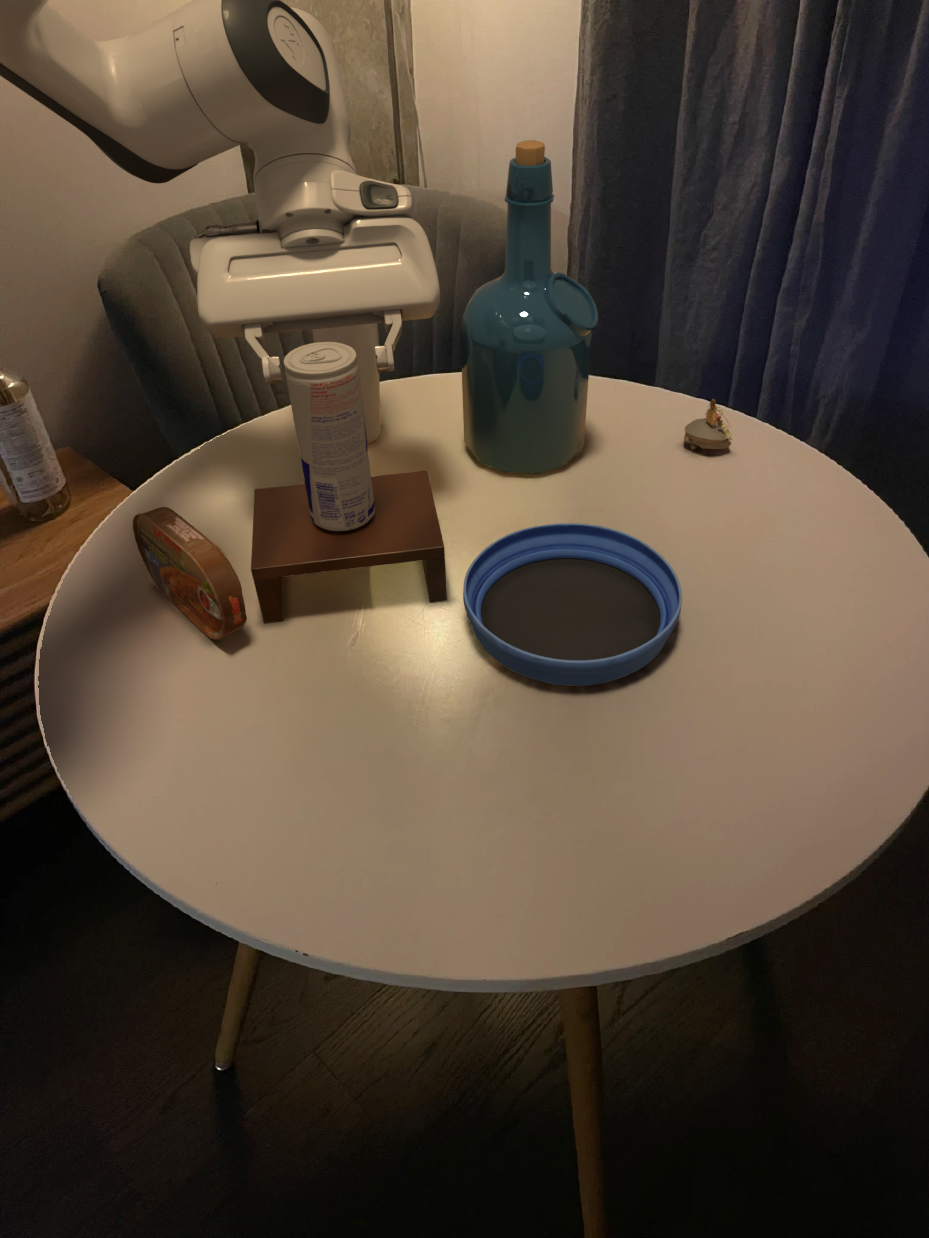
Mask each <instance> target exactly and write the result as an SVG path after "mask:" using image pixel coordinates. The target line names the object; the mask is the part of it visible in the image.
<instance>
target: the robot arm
mask: <svg viewBox="0 0 929 1238" xmlns="http://www.w3.org/2000/svg"><path fill="white" fill-rule="evenodd" d="M48 2H49V0H0V77H2V78H3V79H5V80H6V81H7V82H9V83H10V84H11V85H13V86H15V87H16V88H18V89H19V90H20V91H22V92H24V94H26V95H28V96H29V97H31V98H32V99H34V100H35V101H37V102H38V103H39V104H41V105H42V106H44V107H45V108H47V109H48V110H49V111H51V112H53V113H54V114H56V115H57V116H59V117H60V118H61V119H63V120H64V121H65V122H68V123H69V124H70V125H72V126H73V127H75V129H77V130H79V131H80V132H82V134H84V135H85V136H86V137H88V138H89V139H90V140H91V142H93V144H95V146H96V147H97V148H98V149H99V150H100V151H101V152H102V153H103V154H104V156H106V157H107V158H108V159H109V160H110V161H111V162H113V163H114V164H115V165H116V166H118V167H119V168H120V169H122V170H123V171H125V172H126V173H128V174H130V175H132V176H133V177H135V178H138V179H140V180H142V181H145V182H147V183H150V184H166V183H169V182H170V181H172V180H174V179H176V178H178V177H179V176H181V175H182V174H184V173H186V172H188V171H190V169H193V168H194V167H196V166H198V165H199V164H200V163H202V162H204V161H207V160H209V159H211V158H214V157H216V156H218V155H220V154H223V153H225V152H227V151H229V150H231V149H234V148H236V147H238V146H241V145H243V144H245V146H247V147H248V148H250V150H252V152H253V154H254V159H255V160H254V161H255V163H254V170H253V177H252V180H253V181H252V182H253V190H254V197H255V199H254V200H255V205H256V206H255V207H256V215H257V216H256V217H257V219H256V220H250V221H240V222H234V223H230V224H210V225H206V226H204V230H203V231H199V232H198V233H196V234H195V235H194V236H193V238H192V239H191V240H190V242H189V249H188V250H189V260H190V267H191V269H192V272H194V274H195V275H196V277H197V281H196V296H197V298H196V299H197V300H196V301H197V309H198V310H197V311H198V312H197V313H198V318H199V320H200V322H201V324H202V327H203V328H204V329H205V330H206V331H207V332H208V333H209V334H210V335H211V336H212V337H213V338H215V339H218V340H219V339H221V340H222V339H231V338H241V337H245V341H246V343H247V345H248V347H249V349H250V350H251V351H252V353H253V354H254V355H255V356H256V359H258V361H259V362H260V363H261V366H262V373H263V378H264V382H265V384H266V385H272V384H283V383H284V382H285V380H284V374H283V364H282V361H281V358H280V356H269V354H268V353H267V352H266V350H265V349H264V346H266V344H267V343H266V335H271V334H281V333H292V332H303V331H312V330H314V329H324V328H334V327H344V326H354V325H365V324H375V323H378V324H383V323H384V329H385V333H386V334H388V335H387V337H386V340H385V342H384V345H379V346H378V347H375V357H376V363H377V372H380V373H388V372H389V373H391V372H395V360H394V351H395V349H396V347H397V344H398V343H399V340H400V337H401V335H402V333H403V322H404V321H405V322H406V321H413V320H426V319H430V318H432V317H433V316H434V315H435V314H436V312H437V311H438V309H439V307H440V303H441V290H440V281H439V276H438V270H437V266H436V261H435V259H434V254H433V251H432V248H431V247H432V246H431V245H430V241H429V238H428V236H427V234H426V231H425V230H424V228H423V227H422V225H421V224H420V223H419V222H418V221H416V220H415V208H414V207H415V206H414V201H413V197H412V193H411V191H410V189H409V188H407V187H405V186H404V185H400V184H396V183H392V182H386V181H384V180H383V181H382V180H377V179H374V178H369V177H366V176H362V175H359V174H358V172H357V169H356V166H355V164H354V162H353V160H352V157H351V153H350V146H351V140H352V125H351V124H352V123H351V118H350V111H349V103H348V100H347V99H348V98H347V97H348V96H347V92H346V89H345V88H346V87H345V83H344V79H343V75H342V71H341V67H340V63H339V60H338V57H337V54H336V50H335V48H334V44H333V42H332V40H331V37H330V35H329V33H328V31H327V30H326V29H325V27H324V25H322V23H321V22H320V21H319V20H318V19H317V18H316V17H314V16H313V15H312V14H310V13H308V12H307V11H305V10H303V9H300V8H297V7H293V6H289V5H288V4H287V3H285V2H284V1H282V0H191V1H189V2H187V3H186V4H184V5H182V6H180V8H178V9H176V10H174V11H173V12H170V13H169V14H167V15H165V16H163V17H161V18H159V19H158V20H156V21H153V22H152V23H150V24H148V25H146V26H144V27H142V28H141V29H138V30H137V31H135V32H133V33H131V34H130V33H129V34H127V35H124V36H121V37H118V38H112V39H105V40H95V39H90V38H89V37H87V36H86V35H85V34H84V33H82V32H81V31H80V30H79V29H78V28H77V27H75V26H74V24H72V23H71V22H70V21H68V20H67V18H65V17H64V16H63V15H62V14H60V13H59V12H58V11H57V10H55V8H53V7H52V6H51V5H50V4H48Z"/></svg>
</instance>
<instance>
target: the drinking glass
mask: <svg viewBox="0 0 929 1238" xmlns="http://www.w3.org/2000/svg"><path fill="white" fill-rule="evenodd" d="M378 324H379V323H375V324H365V325H354V326H344V327H334V328H324V329H314V330H311V335H312V340H313V343H318V342H336V343H342V344H345V345H348V346H350V347H351V348H353V349H354V350H355V352H356V361H357V363H358V368H359V377H360V385H361V394H362V402H363V411H364V419H365V428H366V437H367V445H368V444H370V443H372V442H374V441H376V440H377V439H378V438H379V437H380V435H381V433H382V419H381V381H380V378H381V377H380V376H381V374H380V373H381V372H377V363H376V357H375V347H378V346H380V335H379V325H378Z"/></svg>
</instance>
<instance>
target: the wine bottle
mask: <svg viewBox="0 0 929 1238" xmlns="http://www.w3.org/2000/svg"><path fill="white" fill-rule="evenodd" d="M545 153H546V146H545V143H544V142H542V141H540V140H536V139H534V140H533V139H527V140H526V139H525V140H522V141H519V142H517V143H516V146H515V157H514V158H513V157H512V159H510V160H509V164H508V171H507V181H506V191H505V195H504V196H505V197H504V202H505V203H507V205H506V206H507V208H506V209H507V210H506V213H507V214H506V231H505V232H506V235H505V238H506V239H505V262H504V271H503V272H502V274H501V275H498V276H497V277H494V278H493V279H491V280H490V281H488V282H485V283H484V284H482V285H481V286H480V287H478V288H476V289H475V290H474V292H473V293H471V295H470V296H469V298H468V300H467V303H466V306H465V307H464V311H463V314H462V317H461V321H460V329H459V331H460V356H461V357H460V359H461V387H462V388H461V389H462V390H461V391H462V419H463V420H462V421H463V442H464V444H465V446H466V447H467V449H468V450H469V451H470V453H471V454H472V455H473V457H474V458H475V459H476V460H477V461H478V463H479V464H482V465H484V466H487V467H489V468H493V469H495V470H497V471H499V472H503V473H509V474H510V473H512V474H530V475H531V474H533V475H536V474H540V473H544V472H548V471H552V470H556V469H560V468H563V467H565V466H567V464H569V463H570V462H571V461H572V460H574V459H575V458H576V457H577V456H578V455H580V453H581V452H582V451H583V449H584V447H585V435H586V434H585V433H586V419H587V407H588V406H587V405H588V391H589V378H590V363H591V352H592V351H591V350H592V336H593V335H592V334H593V331H594V330H595V329H596V328H597V326H598V323H599V312H598V308H597V305H596V302H595V300H594V299H593V297H592V295H591V294H590V292H589V291H588V290H587V288H586V287H585V286H584V285H582V284H581V283H580V282H578V281H577V280H575V279H574V278H573V277H571V276H569V275H567V274H566V273H564V272H561V271H555V272H554V271H553V270H552V203H554V199H555V194H553V192H554V188H553V176H552V175H553V174H552V161H551V160H550V159H549V158H547V157H546V156H545V155H546V154H545Z"/></svg>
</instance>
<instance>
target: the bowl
mask: <svg viewBox="0 0 929 1238" xmlns="http://www.w3.org/2000/svg"><path fill="white" fill-rule="evenodd" d="M678 577H679V576H678V575H677V573H676V571H675V570H674V568H673V567H672V566H671V565H670V563H669V562H668V561H667V559H665V558H664V557H663V555H662V554H660V553H659V552H658V551H657V550H655V549H654V548H653V547H651V546H650V545H649V544H648V543H646V542H644V541H643V540H642V539H641V540H640V539H639V538H637V537H635V536H634V535H631V534H628V533H626V532H623V531H621V530H617V529H614V528H611V527H606V526H602V525H596V524H589V523H577V522H576V523H574V522H570V523H569V522H564V523H562V522H560V523H549V524H541V525H534V526H530V527H526V528H525V527H524V528H522V529H519V530H516V531H513V532H510V533H508V534H506V535H504V536H502V537H500V538H498V539H497V540H495V541H493V542H492V543H490V544H489V545H488V546H486V547H485V548H484V549H482V551H481V552H480V553H479V554H478V555H477V556H476V557H475V558H474V559H473V560H472V562H471V563H470V565H469V566H468V569H467V570H466V573H465V576H464V580H463V591H462V592H463V593H462V600H463V601H462V602H463V606H464V610H465V612H466V615H467V618H468V621H469V623H470V625H471V627H472V630H473V633H474V635H475V637H476V639H477V642H479V644H480V646H481V647H482V648H483V649H484V650H485V652H487V654H488V655H489V656H490V657H491V658H493V659H494V660H495V661H496V662H498V663H499V664H501V665H502V666H503V667H505V668H507V669H508V670H510V671H512V672H514V673H515V674H517V675H520V676H523V677H525V678H527V679H531V680H534V681H537V682H541V683H546V684H551V685H558V686H565V687H566V686H569V687H575V686H576V687H582V686H583V687H585V686H592V685H600V684H604V683H609V682H613V681H617V680H619V679H622V678H625V677H627V676H629V675H631V674H633V673H635V672H638V671H639V670H641V669H642V668H644V667H645V666H646V665H648V664H650V663H651V661H653V660H654V658H656V657H657V656H658V654H659V653H660V652H661V651H662V650H663V648H664V646H665V644H666V643H667V640H668V639H669V637H670V636H671V634H672V632H673V631H674V629H675V627H676V625H677V624H678V621H679V619H680V615H681V612H682V611H681V610H682V603H683V594H682V593H683V592H682V587H681V583H680V580H679V578H678Z"/></svg>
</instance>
